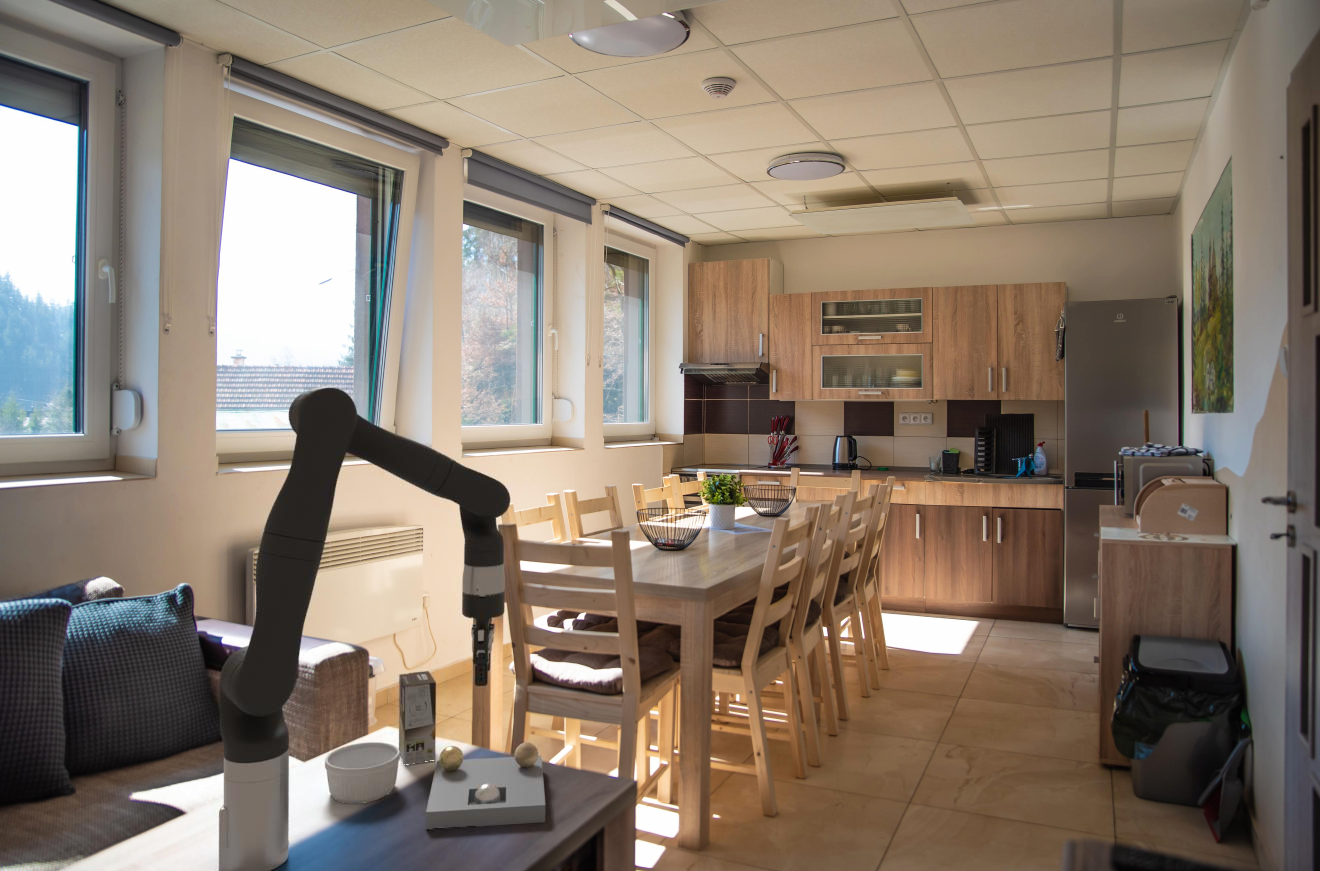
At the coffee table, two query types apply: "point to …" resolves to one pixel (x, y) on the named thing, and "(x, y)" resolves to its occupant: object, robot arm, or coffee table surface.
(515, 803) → the board
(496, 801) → the steel ball
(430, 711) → the coffee box
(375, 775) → the ramekin
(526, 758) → the oak ball
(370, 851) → the coffee table surface
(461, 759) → the brass ball
